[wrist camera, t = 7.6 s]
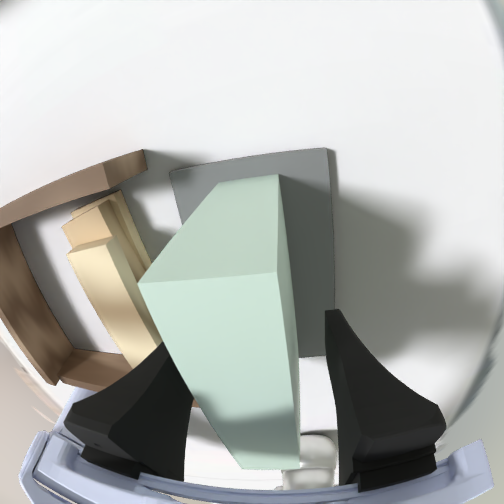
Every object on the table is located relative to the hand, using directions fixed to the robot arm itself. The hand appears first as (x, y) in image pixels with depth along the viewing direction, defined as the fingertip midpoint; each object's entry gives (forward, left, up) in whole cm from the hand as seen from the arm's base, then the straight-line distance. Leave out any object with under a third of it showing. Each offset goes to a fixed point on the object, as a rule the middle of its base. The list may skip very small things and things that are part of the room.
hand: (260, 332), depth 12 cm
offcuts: (0, +9, -5) cm, 10 cm away
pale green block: (0, 0, -4) cm, 4 cm away
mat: (0, 0, -5) cm, 5 cm away
